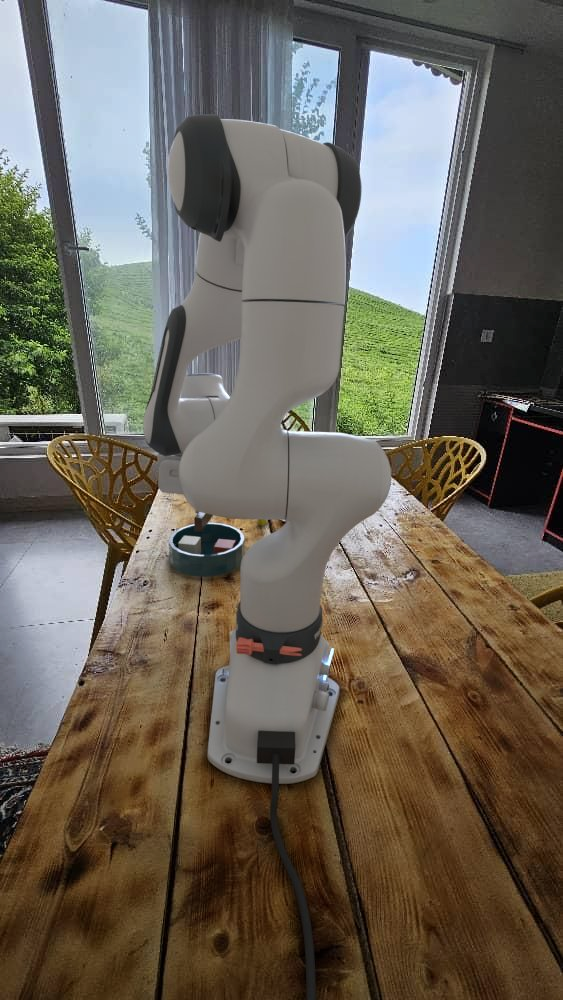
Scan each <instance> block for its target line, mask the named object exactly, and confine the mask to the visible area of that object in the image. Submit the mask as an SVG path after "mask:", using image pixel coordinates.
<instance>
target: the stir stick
mask: <svg viewBox="0 0 563 1000" xmlns="http://www.w3.org/2000/svg"><path fill="white" fill-rule="evenodd" d="M213 516H214V515H209V514H206V513H202V512H199V513H198V514H197V513H196V515H195V517H194V518H193V522H194V523H193V524H194V525H195V531H200V532H202V531H203V529H204V528H205V527H206V525H207V524H208V523H210V521H211V519H212V518H213Z"/></svg>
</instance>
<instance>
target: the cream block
mask: <svg viewBox="0 0 563 1000" xmlns="http://www.w3.org/2000/svg"><path fill="white" fill-rule="evenodd" d="M178 549H180V550H181V551H184V552H187V553H191V554H199V555H200V553H201V537H195V536H183V538H182V539H181V540H180V541H179V543H178Z"/></svg>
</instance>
